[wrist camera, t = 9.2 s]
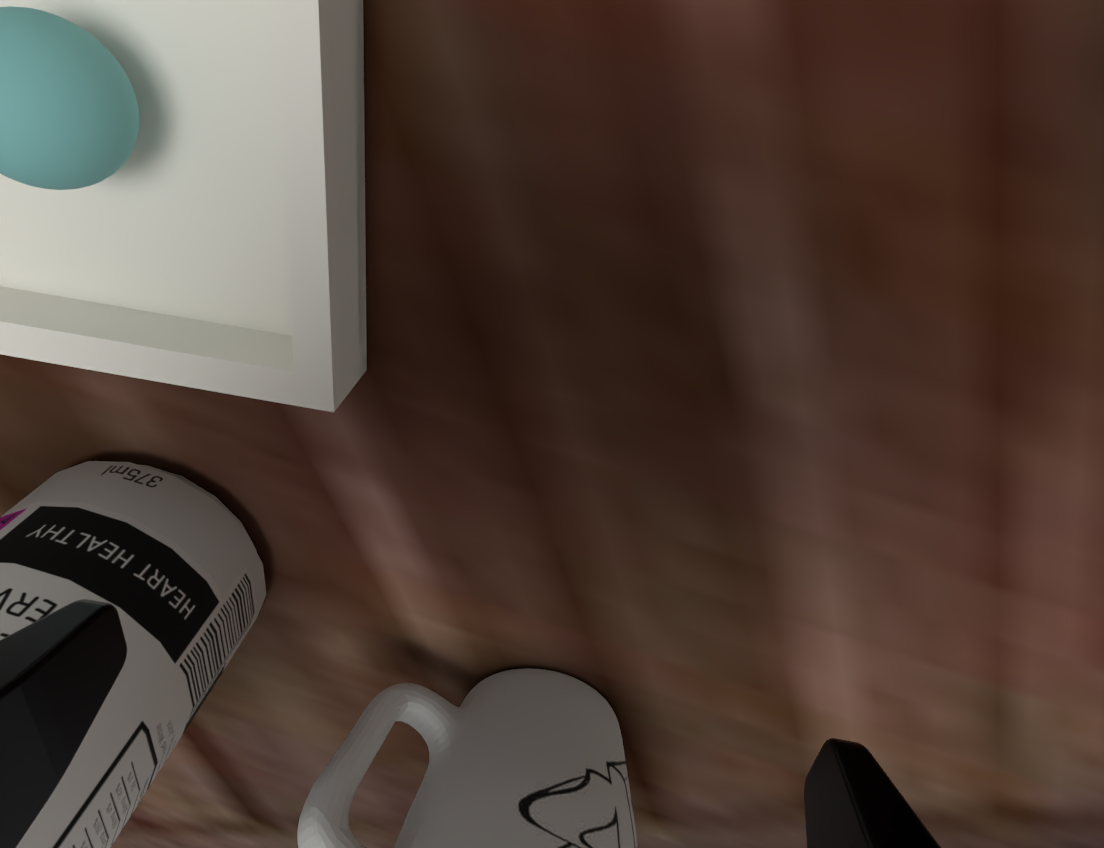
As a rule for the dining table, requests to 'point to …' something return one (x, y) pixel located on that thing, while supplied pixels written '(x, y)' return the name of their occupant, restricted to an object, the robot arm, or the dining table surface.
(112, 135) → the ball
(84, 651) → the robot arm
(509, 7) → the dining table surface
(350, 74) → the tray
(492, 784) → the mug
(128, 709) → the supplement can
